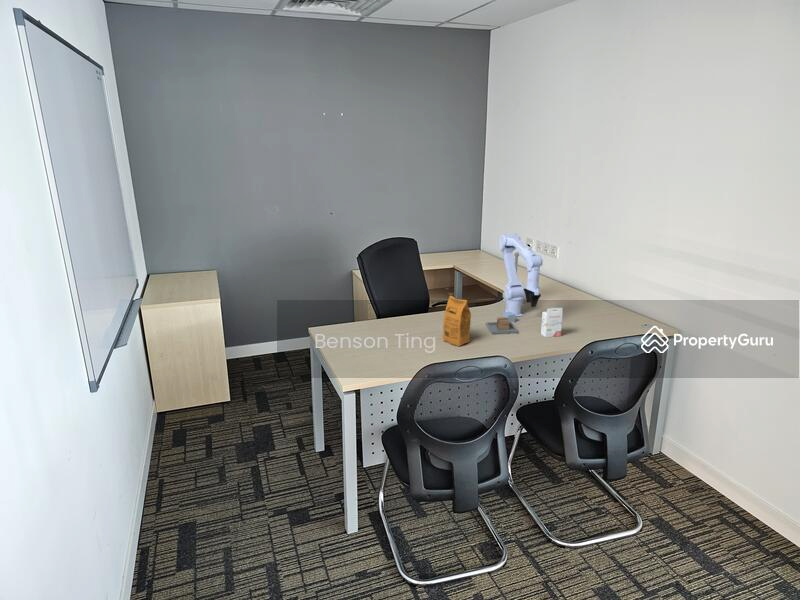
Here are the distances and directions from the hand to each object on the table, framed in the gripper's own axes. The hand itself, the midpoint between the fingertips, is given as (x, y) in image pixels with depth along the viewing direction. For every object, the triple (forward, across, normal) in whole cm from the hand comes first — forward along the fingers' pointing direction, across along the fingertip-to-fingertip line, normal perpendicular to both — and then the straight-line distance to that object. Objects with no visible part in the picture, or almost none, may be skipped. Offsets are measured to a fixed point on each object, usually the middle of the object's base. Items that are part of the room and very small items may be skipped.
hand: (531, 304), depth 271 cm
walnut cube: (+10, -7, +16) cm, 20 cm away
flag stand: (+11, +36, -2) cm, 38 cm away
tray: (+10, -7, +17) cm, 21 cm away
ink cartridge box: (+11, -17, -5) cm, 21 cm away
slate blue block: (+10, +4, +10) cm, 15 cm away
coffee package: (+11, -21, +43) cm, 49 cm away
